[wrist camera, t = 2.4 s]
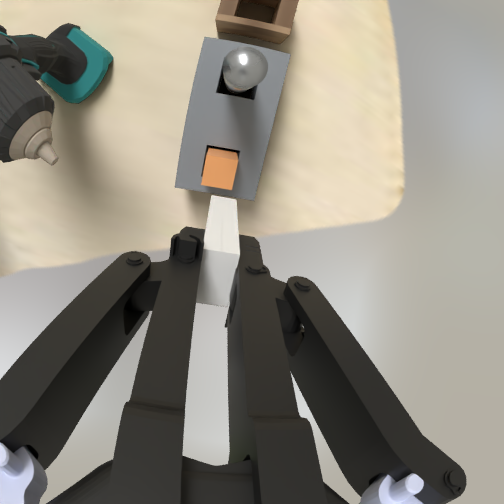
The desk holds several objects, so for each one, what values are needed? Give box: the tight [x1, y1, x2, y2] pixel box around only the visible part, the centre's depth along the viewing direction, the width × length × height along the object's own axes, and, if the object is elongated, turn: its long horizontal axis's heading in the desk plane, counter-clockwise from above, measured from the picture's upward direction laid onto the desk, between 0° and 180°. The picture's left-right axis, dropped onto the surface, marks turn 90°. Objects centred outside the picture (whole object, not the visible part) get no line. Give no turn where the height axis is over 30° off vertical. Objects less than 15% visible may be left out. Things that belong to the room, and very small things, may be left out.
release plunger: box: [201, 148, 238, 190], centre depth 30 cm, size 3×3×8 cm
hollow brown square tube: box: [215, 0, 299, 44], centre depth 25 cm, size 8×6×6 cm
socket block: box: [175, 37, 291, 201], centre depth 31 cm, size 9×17×7 cm, turn 167°
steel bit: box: [223, 47, 268, 94], centre depth 24 cm, size 3×3×18 cm
